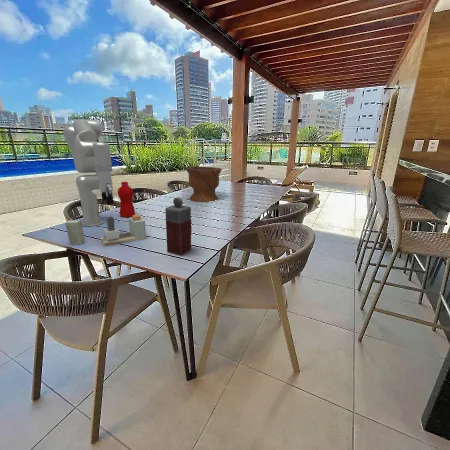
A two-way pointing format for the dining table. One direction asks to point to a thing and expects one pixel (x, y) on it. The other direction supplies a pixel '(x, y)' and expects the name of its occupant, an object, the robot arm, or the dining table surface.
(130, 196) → the water bottle
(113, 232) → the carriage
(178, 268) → the dining table surface
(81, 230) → the skincare box
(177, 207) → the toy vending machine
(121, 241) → the track
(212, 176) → the wooden planter
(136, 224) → the end cabinet
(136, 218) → the button
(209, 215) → the dining table surface
